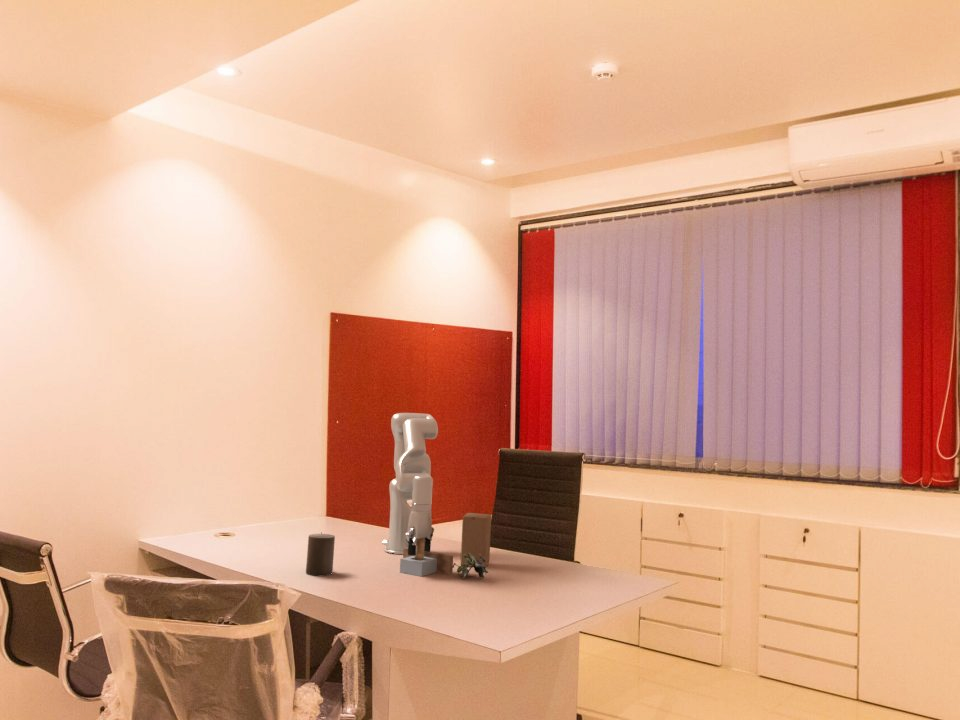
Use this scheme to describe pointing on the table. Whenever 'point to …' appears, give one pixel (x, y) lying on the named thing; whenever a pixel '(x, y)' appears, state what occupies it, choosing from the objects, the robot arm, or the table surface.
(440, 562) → the walnut wall
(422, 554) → the oak dowel
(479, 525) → the wooden block
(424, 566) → the socket block
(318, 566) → the pillar candle
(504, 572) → the table surface
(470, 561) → the passion flower
